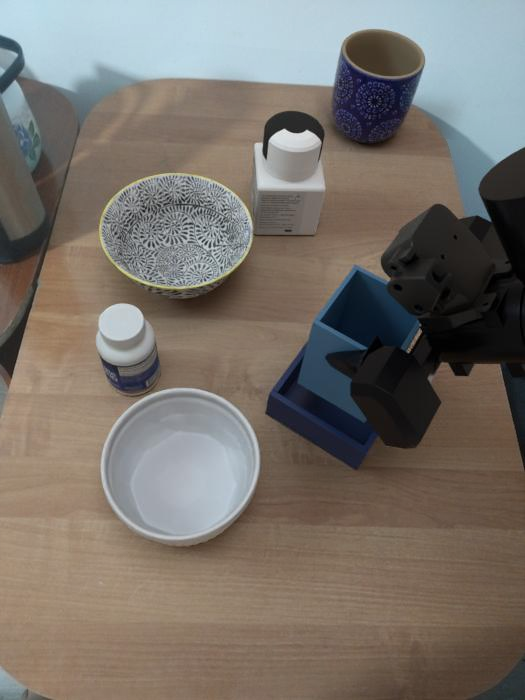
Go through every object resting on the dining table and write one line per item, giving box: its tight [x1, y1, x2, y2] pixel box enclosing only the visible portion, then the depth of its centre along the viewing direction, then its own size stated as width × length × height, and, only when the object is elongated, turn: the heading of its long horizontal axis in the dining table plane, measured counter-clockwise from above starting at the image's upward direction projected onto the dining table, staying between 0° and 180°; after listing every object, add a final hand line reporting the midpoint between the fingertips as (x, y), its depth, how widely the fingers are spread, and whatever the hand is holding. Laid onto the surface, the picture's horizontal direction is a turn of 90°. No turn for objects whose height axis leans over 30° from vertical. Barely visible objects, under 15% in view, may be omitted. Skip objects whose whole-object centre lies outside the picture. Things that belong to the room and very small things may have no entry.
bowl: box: [98, 172, 255, 300], centre depth 61 cm, size 16×16×8 cm
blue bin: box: [297, 264, 421, 423], centre depth 48 cm, size 7×7×10 cm
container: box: [250, 110, 327, 236], centre depth 65 cm, size 8×8×13 cm
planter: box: [330, 28, 426, 144], centre depth 76 cm, size 11×11×11 cm
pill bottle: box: [95, 303, 161, 397], centre depth 53 cm, size 5×5×10 cm
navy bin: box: [265, 340, 379, 471], centre depth 56 cm, size 10×10×4 cm
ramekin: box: [99, 387, 262, 547], centre depth 49 cm, size 13×13×7 cm
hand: (349, 328), depth 47 cm, fingers closed on blue bin, 7 cm apart
